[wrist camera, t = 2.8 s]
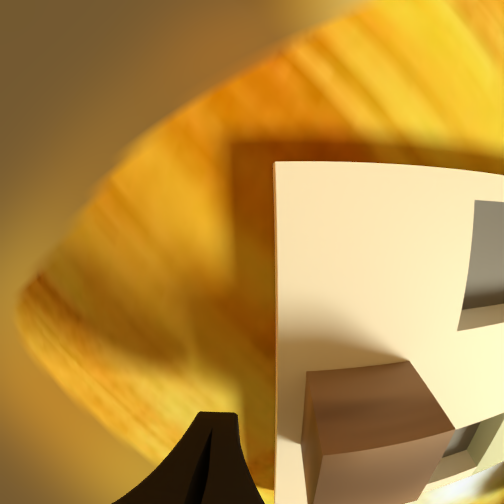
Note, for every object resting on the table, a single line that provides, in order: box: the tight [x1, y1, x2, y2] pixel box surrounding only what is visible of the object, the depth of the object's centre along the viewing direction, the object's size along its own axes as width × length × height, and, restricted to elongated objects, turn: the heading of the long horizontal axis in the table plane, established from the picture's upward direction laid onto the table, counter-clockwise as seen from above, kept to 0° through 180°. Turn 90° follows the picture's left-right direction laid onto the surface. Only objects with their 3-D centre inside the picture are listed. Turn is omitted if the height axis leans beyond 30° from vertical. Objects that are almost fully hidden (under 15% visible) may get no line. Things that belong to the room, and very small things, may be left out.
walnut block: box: [301, 361, 456, 504], centre depth 9 cm, size 4×4×4 cm
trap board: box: [273, 161, 504, 504], centre depth 11 cm, size 18×20×4 cm
